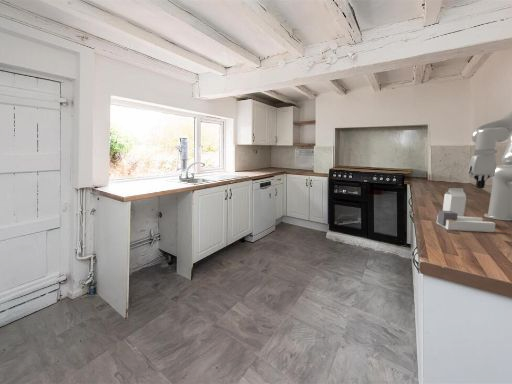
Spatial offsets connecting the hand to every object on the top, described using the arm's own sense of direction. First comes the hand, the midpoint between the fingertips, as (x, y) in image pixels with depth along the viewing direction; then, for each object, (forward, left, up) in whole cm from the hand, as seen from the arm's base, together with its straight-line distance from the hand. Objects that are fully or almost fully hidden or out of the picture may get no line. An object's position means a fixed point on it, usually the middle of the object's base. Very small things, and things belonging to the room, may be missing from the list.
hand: (479, 187), depth 126 cm
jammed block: (+16, +6, -19) cm, 26 cm away
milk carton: (+7, -7, -21) cm, 23 cm away
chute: (+8, +6, -20) cm, 23 cm away
